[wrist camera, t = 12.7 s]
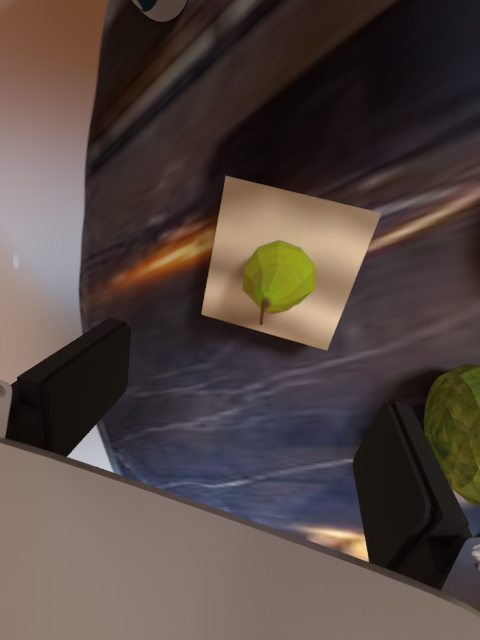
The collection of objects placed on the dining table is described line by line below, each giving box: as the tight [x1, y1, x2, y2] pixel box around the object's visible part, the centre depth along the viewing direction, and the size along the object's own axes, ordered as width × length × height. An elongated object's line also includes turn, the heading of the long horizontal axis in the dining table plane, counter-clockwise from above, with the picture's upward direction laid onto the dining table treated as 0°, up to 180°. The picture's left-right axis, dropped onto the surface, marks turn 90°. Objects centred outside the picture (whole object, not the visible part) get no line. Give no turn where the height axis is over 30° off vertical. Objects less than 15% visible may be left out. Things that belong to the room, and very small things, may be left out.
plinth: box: [201, 176, 381, 350], centre depth 31 cm, size 14×14×5 cm
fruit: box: [243, 240, 316, 325], centre depth 24 cm, size 6×6×12 cm
